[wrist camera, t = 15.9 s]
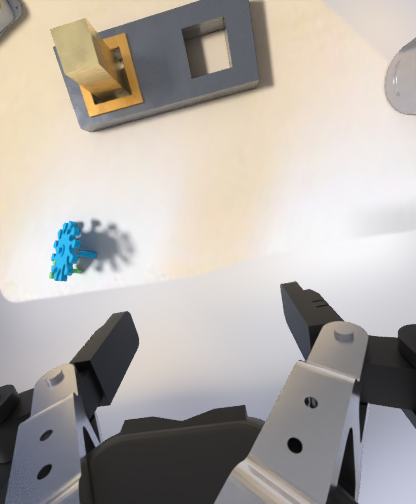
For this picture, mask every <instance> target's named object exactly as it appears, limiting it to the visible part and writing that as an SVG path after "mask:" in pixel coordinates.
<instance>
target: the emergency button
mask: <svg viewBox="0 0 416 504" xmlns="http://www.w3.org/2000/svg"><path fill="white" fill-rule="evenodd" d="M21 13H22V7H21V4H20V2H19V1H18V0H0V35H1V34H2V33H3V32H4V31H5V30H6V29H7V28H8V27H9V26H10V25H11V24H12V23H13V22H15V21H16V20H17V19H18V18H19V17H20V15H21Z"/></svg>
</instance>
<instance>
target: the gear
mask: <svg viewBox="0 0 416 504" xmlns="http://www.w3.org/2000/svg"><path fill="white" fill-rule="evenodd" d="M76 226H77V225H76V223H75V222H72V221H69V223H64V224H63V230H61V229H60V230H59V232H58V239H59V240H58V241H56V240H55V243H54V248H55V249H56V254H52V258H51V261H54V262H53V266H52V269H51V271H52V272H51V273H50V275H49V278H52V279H54V280H55V281H67V275H69V276H71V275H72V274H73V273H81V272H82V270H81V269H73V267H72V265H73V263H74V264H76V263H77V261H78V258H79V257H78V256H81V257H89V258H96V255H97V254H96V253H94V252H88V251H81V250H79V248H80V245H81V240H76V239H75V236H79V234H80V228H77V227H76Z"/></svg>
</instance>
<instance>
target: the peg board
mask: <svg viewBox="0 0 416 504" xmlns="http://www.w3.org/2000/svg"><path fill="white" fill-rule="evenodd" d="M221 29H224V33H225V39H226V45H227V52H228V58H229V64H230V68H228V69H225V70H221V71H218V72H214V73H211V74H207V75H203V76H200V77H196V78H193V79H192V77H191V72H190V67H189V62H188V57H187V52H186V47H185V42H184V40H188V39H191V38H194V37H198V36H201V35H204V34H208V33H211V32H214V31H218V30H221ZM98 34H99V36H100V37H101V38H102V39H103V41H104V42H105V43H106V44H107V46H108V47H109V48H110V49H111V51H112V52H113V53H114V54H115V56H116V57H117V58H118V59H119V60H121V59H123V63H124V66H125V70H126V74H127V77H128V81H129V85H130V88H131V92H132V95H129V96H125V97H122V98H118V99H115V100H111V101H107V102H104V103H101V100H100V99H99V98H98V97H96V96H95V95H93V94H92V93H91V92H89V91H88V90H86V89H85V88H84V87H82V86H81V85H79V84H78V83H77V82H75V81H74V80H73V79H71V78H70V77H68V76H67V75H66V74H65V73H64V70H63V67H62V64H61V61H60V58H59V55H58V52H57V49H56V46H54V47H53V49H54V52H55V55H56V58H57V61H58V63H59V66H60V69H61V72H62V75H63V78H64V81H65V84H66V87H67V90H68V93H69V96H70V99H71V102H72V105H73V108H74V111H75V114H76V117H77V119H78V122H79V125H80V128H81V129H83V130H86V131H88V132H92V131H96V130H100V129H103V128H107V127H111V126H115V125H118V124H122V123H126V122H129V121H133V120H137V119H141V118H144V117H148V116H152V115H155V114H159V113H163V112H167V111H170V110H174V109H178V108H181V107H185V106H189V105H193V104H196V103H200V102H204V101H207V100H211V99H215V98H219V97H222V96H226V95H230V94H233V93H237V92H241V91H245V90H248V89H252V88H256V87H257V84H258V82H259V74H258V67H257V60H256V52H255V45H254V37H253V30H252V22H251V15H250V8H249V0H200V1H197V2H193V3H190V4H187V5H184V6H181V7H178V8H174V9H171V10H168V11H165V12H162V13H159V14H155V15H152V16H149V17H146V18H143V19H140V20H137V21H133V22H130V23H127V24H124V25H121V26H118V27H114V28H111V29H108V30H105V31H102V32H99V33H98Z"/></svg>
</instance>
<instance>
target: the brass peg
mask: <svg viewBox="0 0 416 504" xmlns="http://www.w3.org/2000/svg"><path fill="white" fill-rule="evenodd" d="M50 31H51V34H52V37H53V40H54V43H55V46H56V49H57V52H58V55H59V58H60V61H61V64H62V67H63V70H64V73H65V74H66V75H67V76H68V77H70V78H71V79H73V80H74V81H75V82H77V83H78V84H79V85H81V86H82V87H84V88H85V89H86V90H88V91H89V92H91V93H92V94H93V95H95V96H96V97H98V98H99V99H100V100H102V101H103V102H107V101H111V100H115V99H118V98H122V97H125V96H129V95H132V94H131V90H130V86H129V82H128V79H127V75H126V71H125V67H124V66H123V64H122V63H121V62H120V61H119V59H118V58H117V57H116V56H115V54H114V53H113V52H112V51H111V49H110V48H109V47H108V46H107V44H106V43H105V42H104V41H103V39H102V38H101V37H100V36H99V34H98V33H97V32H96V31H95V29H94V28H93V27H92V26H91V24H90V23H89V22H88V21H87V19H86V18H85V19H82V20H78V21H75V22H72V23H69V24H66V25H63V26H59V27H56V28H53V29H50Z"/></svg>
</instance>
